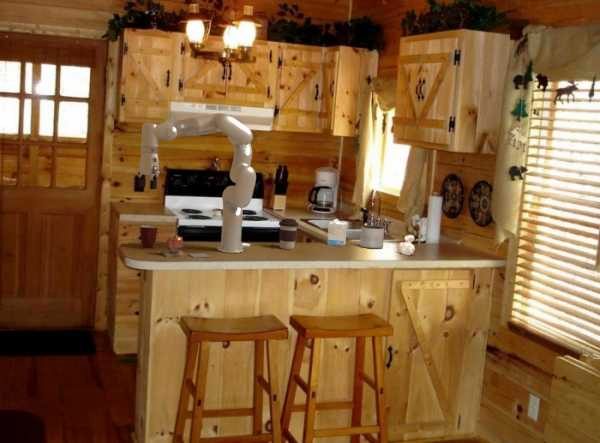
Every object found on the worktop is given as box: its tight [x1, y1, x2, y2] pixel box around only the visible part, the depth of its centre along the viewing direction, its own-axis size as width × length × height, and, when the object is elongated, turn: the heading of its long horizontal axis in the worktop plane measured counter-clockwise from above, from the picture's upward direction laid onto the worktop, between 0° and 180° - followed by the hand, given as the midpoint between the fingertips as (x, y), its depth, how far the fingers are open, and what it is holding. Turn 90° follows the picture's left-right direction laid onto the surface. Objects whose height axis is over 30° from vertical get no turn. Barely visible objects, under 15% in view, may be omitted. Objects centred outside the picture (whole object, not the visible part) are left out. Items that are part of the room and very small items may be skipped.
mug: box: [139, 224, 158, 249], centre depth 389 cm, size 11×8×10 cm
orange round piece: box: [166, 235, 184, 248], centre depth 375 cm, size 7×7×5 cm
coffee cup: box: [278, 218, 299, 250], centre depth 416 cm, size 10×10×15 cm
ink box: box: [326, 218, 348, 246], centre depth 442 cm, size 9×8×13 cm
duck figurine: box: [397, 234, 416, 256], centre depth 426 cm, size 12×8×11 cm
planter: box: [359, 224, 385, 250], centre depth 441 cm, size 13×13×11 cm
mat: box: [187, 253, 211, 259], centre depth 378 cm, size 8×8×1 cm
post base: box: [160, 247, 189, 258], centre depth 375 cm, size 10×10×7 cm
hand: (147, 188), depth 374 cm, fingers open, 9 cm apart
